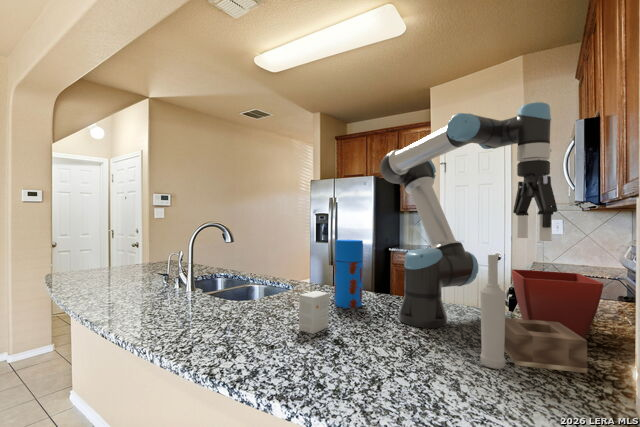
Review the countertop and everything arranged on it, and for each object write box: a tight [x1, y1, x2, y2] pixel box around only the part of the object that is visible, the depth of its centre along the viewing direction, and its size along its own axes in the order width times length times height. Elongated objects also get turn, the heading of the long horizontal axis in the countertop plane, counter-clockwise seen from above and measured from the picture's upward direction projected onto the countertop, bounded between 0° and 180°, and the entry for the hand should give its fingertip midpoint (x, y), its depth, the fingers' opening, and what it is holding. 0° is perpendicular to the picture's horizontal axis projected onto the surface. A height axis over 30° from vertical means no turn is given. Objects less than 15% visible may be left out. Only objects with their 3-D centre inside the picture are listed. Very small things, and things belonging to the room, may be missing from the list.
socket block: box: [504, 317, 588, 374], centre depth 81 cm, size 14×14×7 cm
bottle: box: [479, 254, 507, 370], centre depth 76 cm, size 5×5×25 cm
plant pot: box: [511, 269, 604, 339], centre depth 101 cm, size 19×19×17 cm
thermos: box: [334, 239, 364, 309], centre depth 129 cm, size 11×11×25 cm
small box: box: [298, 290, 330, 335], centre depth 99 cm, size 8×6×10 cm
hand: (532, 239), depth 90 cm, fingers open, 13 cm apart
